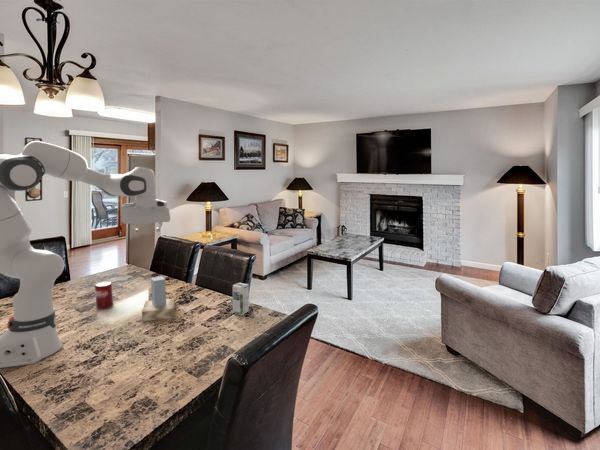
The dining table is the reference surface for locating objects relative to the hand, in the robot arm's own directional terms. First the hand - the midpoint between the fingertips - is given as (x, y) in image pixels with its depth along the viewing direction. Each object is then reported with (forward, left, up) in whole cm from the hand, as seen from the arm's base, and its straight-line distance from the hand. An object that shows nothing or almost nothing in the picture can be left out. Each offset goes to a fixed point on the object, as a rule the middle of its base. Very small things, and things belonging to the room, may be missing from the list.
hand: (147, 232), depth 151 cm
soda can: (-20, +16, -39) cm, 47 cm away
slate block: (+3, -4, -34) cm, 35 cm away
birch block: (+3, -4, -40) cm, 40 cm away
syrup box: (+38, -21, -39) cm, 59 cm away
